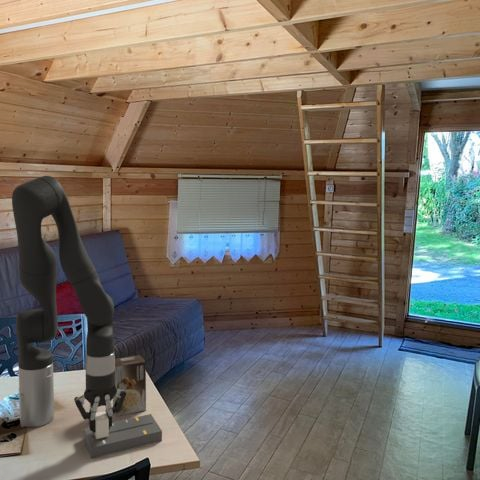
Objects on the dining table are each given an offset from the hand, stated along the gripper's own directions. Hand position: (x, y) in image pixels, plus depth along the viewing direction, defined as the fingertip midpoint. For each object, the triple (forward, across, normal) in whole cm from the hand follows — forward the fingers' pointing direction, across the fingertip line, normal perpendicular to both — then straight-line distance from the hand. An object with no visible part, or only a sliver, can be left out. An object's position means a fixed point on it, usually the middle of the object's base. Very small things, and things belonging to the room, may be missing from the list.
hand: (100, 429), depth 126 cm
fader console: (+5, +6, 0) cm, 8 cm away
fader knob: (+1, 0, 0) cm, 1 cm away
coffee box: (+5, +12, +16) cm, 21 cm away
